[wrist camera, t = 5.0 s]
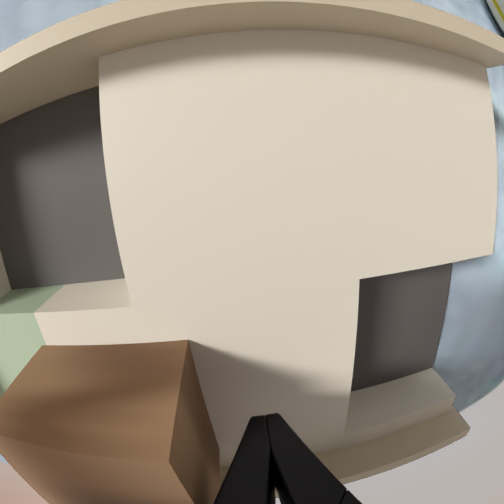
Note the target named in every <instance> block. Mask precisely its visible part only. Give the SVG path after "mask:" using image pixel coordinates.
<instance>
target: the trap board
mask: <svg viewBox="0 0 504 504" xmlns="http://www.w3.org/2000/svg"><path fill="white" fill-rule="evenodd" d="M500 65H504V38H503V37H501V36H499V35H497V34H495V33H493V32H491V31H489V30H487V29H485V28H483V27H481V26H478V25H476V24H474V23H472V22H469V21H467V20H465V19H462V18H460V17H457V16H455V15H452V14H450V13H447V12H444V11H442V10H439V9H436V8H433V7H430V6H427V5H424V4H421V3H417V2H414V1H411V0H121V1H118V2H115V3H111V4H108V5H105V6H102V7H99V8H96V9H93V10H90V11H87V12H85V13H82V14H79V15H77V16H74V17H71V18H69V19H67V20H64V21H62V22H59V23H57V24H55V25H53V26H50V27H48V28H46V29H44V30H42V31H40V32H38V33H36V34H34V35H32V36H30V37H28V38H26V39H24V40H22V41H20V42H18V43H16V44H15V45H13V46H11V47H9V48H8V49H6V50H4V51H2V52H1V53H0V398H1V397H2V396H3V394H4V393H5V391H6V390H7V389H8V387H9V386H10V385H11V384H12V382H13V381H14V380H15V378H16V377H17V376H18V374H19V373H20V372H21V371H22V369H23V368H24V367H25V366H26V364H27V363H28V362H29V361H30V359H31V358H32V357H33V356H34V354H35V353H36V352H37V351H38V350H39V348H40V347H41V346H42V345H112V344H134V343H151V342H165V341H178V340H188V341H189V345H190V349H191V353H192V357H193V361H194V364H195V368H196V372H197V376H198V379H199V383H200V387H201V390H202V394H203V397H204V401H205V404H206V407H207V411H208V414H209V417H210V421H211V424H212V427H213V430H214V433H215V437H216V440H217V443H218V446H219V453H220V487H221V485H222V483H223V481H224V479H225V476H226V474H227V472H228V469H229V467H230V465H231V463H232V460H233V458H234V456H235V453H236V451H237V449H238V446H239V444H240V441H241V439H242V437H243V434H244V432H245V429H246V427H247V424H248V422H249V419H250V418H251V417H252V416H258V415H266V414H273V413H279V414H280V415H281V416H282V417H283V419H284V420H285V421H286V422H287V423H288V424H289V426H290V427H291V428H292V429H293V430H294V431H295V433H296V434H297V435H298V436H299V437H300V438H301V440H302V441H303V442H304V443H305V444H306V445H307V446H308V448H309V449H310V450H311V451H312V452H313V453H314V454H315V455H316V456H317V458H318V459H319V460H320V461H321V462H322V463H323V464H324V465H325V466H326V467H327V468H328V470H329V471H330V472H331V473H332V474H333V475H334V476H335V477H336V478H337V479H338V480H339V481H340V482H341V483H342V484H346V483H350V482H354V481H357V480H360V479H364V478H367V477H370V476H373V475H376V474H379V473H382V472H385V471H388V470H391V469H393V468H396V467H399V466H401V465H404V464H407V463H409V462H411V461H414V460H416V459H419V458H421V457H423V456H426V455H428V454H430V453H432V452H435V451H436V450H439V449H441V448H443V447H445V446H447V445H449V444H451V443H453V442H455V441H457V440H459V439H461V438H463V437H464V436H466V435H467V433H468V431H469V429H470V426H469V425H468V424H467V423H466V421H465V420H464V419H463V418H462V416H461V415H460V414H459V413H458V411H457V410H456V409H455V408H454V406H453V405H452V404H453V402H454V400H455V397H456V394H455V393H454V392H453V391H452V389H451V388H450V387H449V386H448V385H447V384H446V383H445V381H444V380H443V379H442V378H441V377H440V376H439V375H438V373H437V372H436V371H435V370H434V369H433V368H432V366H433V363H434V359H435V355H436V351H437V347H438V343H439V339H440V334H441V330H442V325H443V320H444V315H445V310H446V304H447V298H448V292H449V285H450V278H451V271H452V262H457V261H462V260H467V259H472V258H477V257H481V256H486V255H491V254H493V248H494V239H495V228H496V214H497V147H496V133H495V123H494V114H493V106H492V99H491V93H490V87H489V81H488V76H487V71H486V69H487V68H491V67H496V66H500ZM275 498H279V496H278V493H277V490H276V487H275Z"/></svg>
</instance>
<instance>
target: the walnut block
mask: <svg viewBox="0 0 504 504" xmlns="http://www.w3.org/2000/svg"><path fill="white" fill-rule="evenodd" d="M0 454H1V455H2V456H3V457H4V458H5V459H6V461H7V462H8V463H9V464H10V465H11V466H12V467H13V468H14V469H15V471H17V472H18V474H19V475H20V476H21V477H22V478H23V479H24V480H25V481H26V482H27V483H28V484H29V485H30V486H31V487H32V488H33V489H34V490H35V491H36V492H37V493H38V494H39V495H40V496H41V497H43V498H44V499H45V500H46V501H47V502H48V503H49V504H213V503H214V501H215V498H216V496H217V494H218V492H219V490H220V453H219V446H218V443H217V440H216V437H215V433H214V430H213V427H212V424H211V421H210V417H209V414H208V411H207V407H206V404H205V401H204V397H203V394H202V390H201V387H200V383H199V379H198V376H197V372H196V368H195V364H194V361H193V357H192V353H191V349H190V345H189V341H188V340H178V341H165V342H151V343H134V344H112V345H42V346H41V347H40V348H39V350H38V351H37V352H36V353H35V354H34V356H33V357H32V358H31V359H30V361H29V362H28V363H27V364H26V366H25V367H24V368H23V369H22V371H21V372H20V373H19V374H18V376H17V377H16V378H15V380H14V381H13V382H12V384H11V385H10V386H9V387H8V389H7V390H6V391H5V393H4V394H3V396H2V397H1V398H0Z"/></svg>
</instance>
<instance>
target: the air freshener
mask: <svg viewBox="0 0 504 504" xmlns="http://www.w3.org/2000/svg"><path fill="white" fill-rule="evenodd" d="M486 1H487V3H488V6H489V8H490V11H491V13H492V15H493V17H494V19H495V21H496V23H497V25H498V26H499V28H500V29H501V31H502V32H503V34H504V0H486Z"/></svg>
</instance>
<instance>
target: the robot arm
mask: <svg viewBox="0 0 504 504" xmlns="http://www.w3.org/2000/svg"><path fill="white" fill-rule="evenodd" d="M275 487H276V490H277V493H278V496H279V499H280V502H281V504H362V503H361V502H360V501H359V500H358V499H357V498H356V497H355V496H354V495H353V494H352V493H351V492H350V491H346V490H347V489H346V488H345V487H344V486H343V484H342V483H341V482H340V481H339V480H338V479H337V478H336V477H335V476H334V475H333V474H332V473H331V472H330V471H329V470H328V468H327V467H326V466H325V465H324V464H323V463H322V462H321V461H320V460H319V459H318V458H317V456H316V455H315V454H314V453H313V452H312V451H311V450H310V449H309V448H308V446H307V445H306V444H305V443H304V442H303V441H302V440H301V438H300V437H299V436H298V435H297V434H296V433H295V431H294V430H293V429H292V428H291V427H290V426H289V424H288V423H287V422H286V421H285V420H284V419H283V417H282V416H281V415H280V414H279V413H273V414H266V415H258V416H252V417H251V418H250V419H249V422H248V424H247V427H246V429H245V432H244V434H243V437H242V439H241V441H240V444H239V446H238V449H237V451H236V453H235V456H234V458H233V460H232V463H231V465H230V467H229V469H228V472H227V474H226V476H225V479H224V481H223V483H222V485H221V487H220V490H219V492H218V494H217V496H216V498H215V501H214V503H213V504H275Z"/></svg>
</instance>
